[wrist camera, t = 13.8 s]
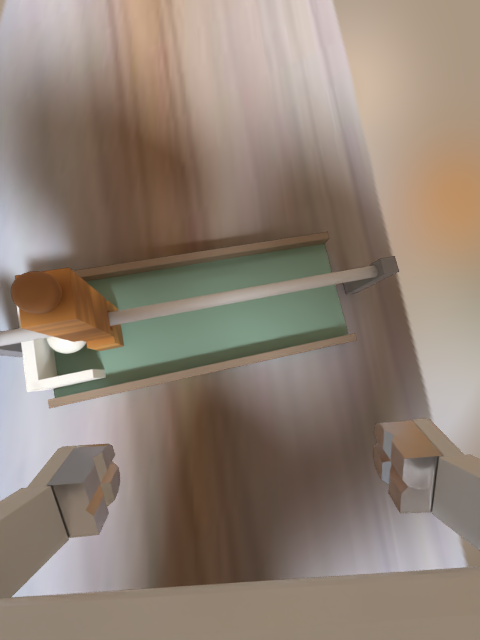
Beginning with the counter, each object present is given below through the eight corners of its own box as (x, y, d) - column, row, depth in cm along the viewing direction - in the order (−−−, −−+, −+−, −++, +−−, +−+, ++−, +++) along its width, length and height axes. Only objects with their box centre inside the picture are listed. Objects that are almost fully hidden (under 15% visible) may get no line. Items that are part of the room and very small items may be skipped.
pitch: (370, 337, 38) (415, 327, 30) (26, 413, 31) (-30, 426, 23) (342, 236, 40) (378, 203, 32) (11, 289, 33) (-46, 262, 25)
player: (127, 345, 32) (61, 318, 16) (96, 351, 32) (-2, 329, 16) (121, 308, 33) (51, 247, 17) (90, 313, 32) (-10, 255, 16)
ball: (39, 357, 28) (63, 357, 32) (78, 348, 28) (97, 349, 32) (35, 318, 29) (58, 323, 32) (72, 310, 29) (92, 315, 32)
